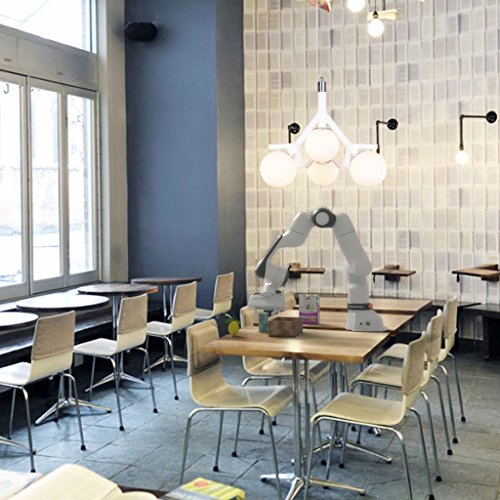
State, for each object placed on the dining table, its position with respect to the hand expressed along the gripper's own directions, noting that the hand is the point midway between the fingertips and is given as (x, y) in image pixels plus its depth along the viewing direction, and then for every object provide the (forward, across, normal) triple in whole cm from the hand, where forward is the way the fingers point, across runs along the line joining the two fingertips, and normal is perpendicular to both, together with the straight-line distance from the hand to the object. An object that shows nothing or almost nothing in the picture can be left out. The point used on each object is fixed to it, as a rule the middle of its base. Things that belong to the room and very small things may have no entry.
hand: (264, 315), depth 424 cm
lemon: (+20, -11, -7) cm, 24 cm away
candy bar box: (-17, +17, +29) cm, 38 cm away
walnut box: (+12, +14, 0) cm, 19 cm away
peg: (+8, 0, +4) cm, 9 cm away
